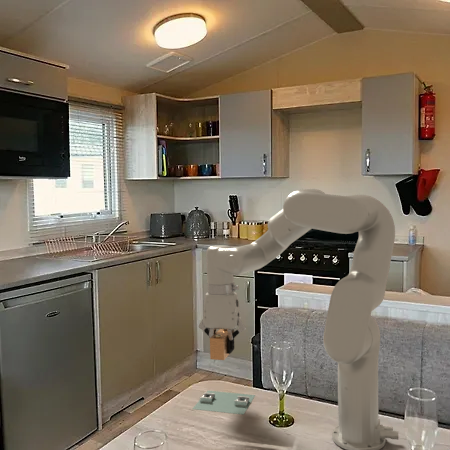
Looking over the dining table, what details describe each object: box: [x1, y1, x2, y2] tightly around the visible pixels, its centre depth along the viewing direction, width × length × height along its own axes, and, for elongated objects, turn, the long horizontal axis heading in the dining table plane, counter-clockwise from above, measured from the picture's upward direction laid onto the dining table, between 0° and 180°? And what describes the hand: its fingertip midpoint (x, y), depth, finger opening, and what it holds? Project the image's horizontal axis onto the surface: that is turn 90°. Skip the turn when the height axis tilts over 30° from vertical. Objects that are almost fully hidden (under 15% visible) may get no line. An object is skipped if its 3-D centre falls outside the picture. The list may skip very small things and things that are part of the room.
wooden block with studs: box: [209, 329, 230, 361], centre depth 143 cm, size 4×10×7 cm, turn 162°
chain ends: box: [199, 392, 250, 407], centre depth 144 cm, size 14×4×1 cm, turn 72°
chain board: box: [192, 390, 256, 416], centre depth 144 cm, size 15×13×1 cm
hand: (222, 351), depth 143 cm, fingers closed on wooden block with studs, 4 cm apart
